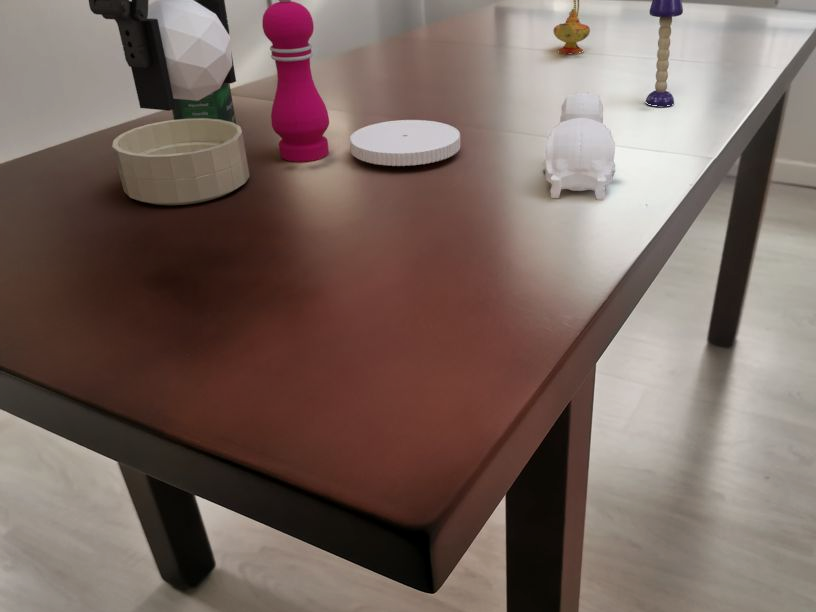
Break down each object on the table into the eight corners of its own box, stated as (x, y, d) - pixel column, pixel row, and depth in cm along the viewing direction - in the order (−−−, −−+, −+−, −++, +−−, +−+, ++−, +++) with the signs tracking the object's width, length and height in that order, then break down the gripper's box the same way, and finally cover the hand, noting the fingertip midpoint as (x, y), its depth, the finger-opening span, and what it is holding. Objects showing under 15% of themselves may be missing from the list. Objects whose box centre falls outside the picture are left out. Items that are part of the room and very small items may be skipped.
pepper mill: (295, 167, 100) (271, -6, 90) (266, 154, 105) (240, -13, 94) (343, 154, 104) (326, -14, 94) (313, 142, 109) (294, -20, 98)
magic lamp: (542, 63, 145) (544, -3, 140) (559, 42, 160) (561, -18, 154) (580, 65, 144) (583, -2, 138) (594, 44, 158) (597, -17, 153)
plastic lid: (331, 166, 100) (329, 146, 99) (381, 134, 111) (380, 115, 110) (434, 179, 96) (433, 158, 94) (476, 144, 107) (476, 125, 105)
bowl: (99, 201, 92) (84, 150, 89) (173, 161, 103) (163, 114, 100) (206, 214, 88) (195, 161, 85) (271, 171, 99) (264, 122, 96)
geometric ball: (199, 122, 69) (217, 34, 70) (236, 107, 63) (256, 9, 64) (107, 89, 65) (128, -6, 65) (137, 68, 59) (160, -37, 59)
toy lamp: (652, 109, 119) (665, -14, 110) (634, 102, 123) (645, -18, 114) (679, 105, 121) (693, -16, 112) (661, 98, 124) (673, -20, 115)
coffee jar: (234, 144, 109) (208, -5, 99) (174, 147, 108) (141, -2, 98) (241, 123, 117) (218, -16, 107) (185, 126, 116) (157, -13, 106)
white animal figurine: (614, 221, 92) (615, 135, 100) (620, 163, 85) (621, 76, 94) (538, 218, 93) (546, 134, 101) (539, 160, 86) (547, 75, 95)
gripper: (57, -271, 45) (148, 135, 57) (255, -242, 61) (293, 68, 73) (-48, -265, 47) (62, 126, 59) (171, -238, 63) (222, 62, 75)
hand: (190, 93), depth 66 cm, fingers closed on geometric ball, 8 cm apart
